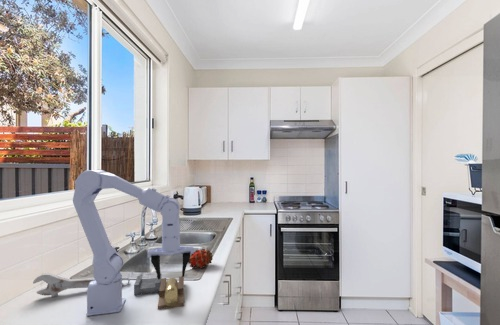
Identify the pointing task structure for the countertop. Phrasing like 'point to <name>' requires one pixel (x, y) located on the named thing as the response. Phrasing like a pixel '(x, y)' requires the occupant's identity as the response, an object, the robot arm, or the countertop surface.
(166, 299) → the brass axle
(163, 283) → the brown wooden cradle
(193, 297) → the countertop surface
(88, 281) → the wrench
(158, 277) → the robot arm
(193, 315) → the countertop surface
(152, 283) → the v block
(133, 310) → the countertop surface
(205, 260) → the dragon fruit
